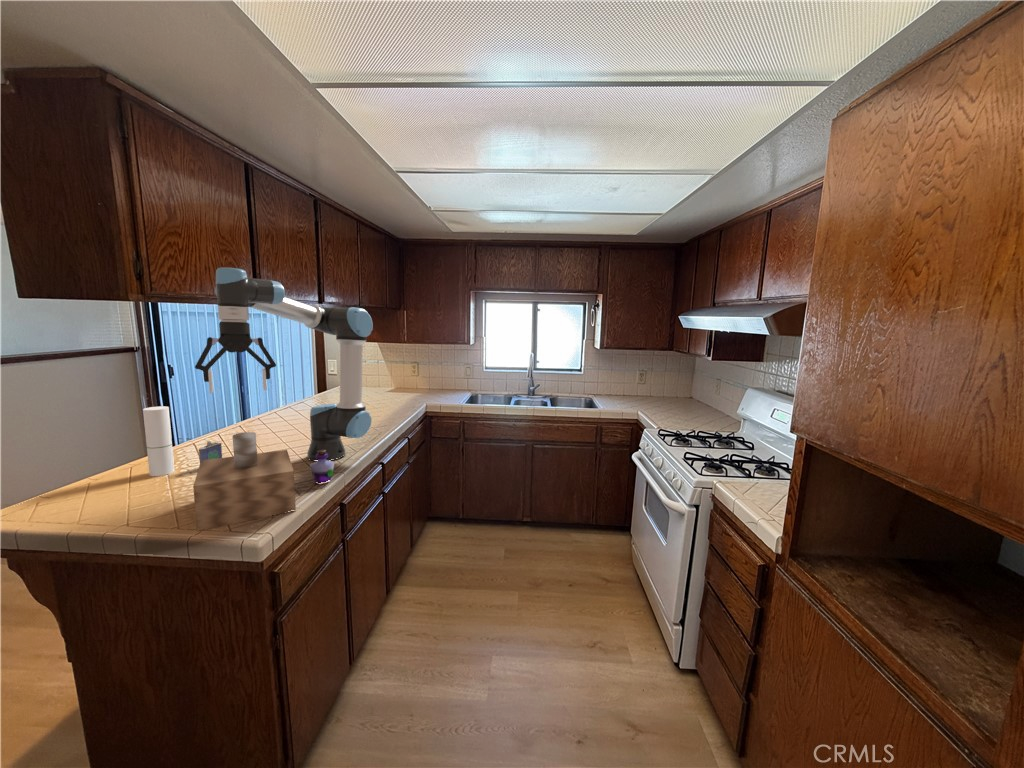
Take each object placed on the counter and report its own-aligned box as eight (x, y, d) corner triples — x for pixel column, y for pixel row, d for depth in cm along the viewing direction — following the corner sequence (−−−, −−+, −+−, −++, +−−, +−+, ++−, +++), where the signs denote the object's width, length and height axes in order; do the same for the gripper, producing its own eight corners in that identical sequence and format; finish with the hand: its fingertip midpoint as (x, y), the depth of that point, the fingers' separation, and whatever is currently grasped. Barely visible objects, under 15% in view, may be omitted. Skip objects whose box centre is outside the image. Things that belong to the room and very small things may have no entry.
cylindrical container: (175, 468, 156) (169, 405, 152) (173, 474, 150) (167, 409, 147) (150, 471, 152) (144, 407, 148) (148, 477, 146) (141, 410, 143)
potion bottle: (330, 486, 143) (329, 454, 142) (305, 486, 143) (304, 453, 141) (339, 477, 152) (338, 447, 150) (315, 477, 151) (314, 446, 150)
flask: (204, 471, 154) (201, 444, 152) (197, 471, 154) (195, 444, 153) (224, 463, 163) (222, 438, 161) (218, 463, 163) (216, 437, 162)
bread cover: (288, 484, 144) (285, 422, 141) (295, 511, 124) (292, 439, 121) (204, 498, 130) (198, 430, 127) (197, 530, 111) (190, 450, 107)
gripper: (179, 319, 110) (185, 395, 113) (283, 322, 124) (286, 390, 127) (182, 319, 116) (188, 391, 119) (281, 322, 130) (284, 386, 133)
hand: (239, 391), depth 123 cm, fingers open, 13 cm apart
